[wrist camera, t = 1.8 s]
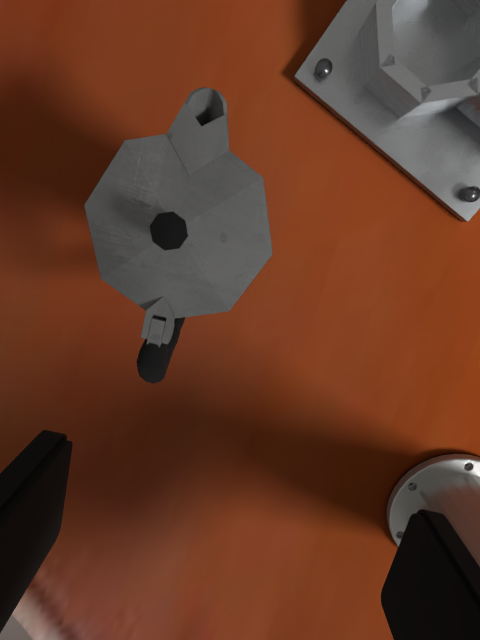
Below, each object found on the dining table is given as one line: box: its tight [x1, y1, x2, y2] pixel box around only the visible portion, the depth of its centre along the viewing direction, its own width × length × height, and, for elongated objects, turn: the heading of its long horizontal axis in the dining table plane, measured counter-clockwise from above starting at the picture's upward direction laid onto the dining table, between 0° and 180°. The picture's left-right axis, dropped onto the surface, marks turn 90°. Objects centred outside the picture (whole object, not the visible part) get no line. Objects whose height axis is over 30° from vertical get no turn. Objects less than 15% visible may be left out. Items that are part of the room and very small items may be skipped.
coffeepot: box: [84, 87, 273, 383], centre depth 26 cm, size 15×9×18 cm, turn 166°
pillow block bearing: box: [293, 0, 480, 222], centre depth 29 cm, size 18×14×5 cm
